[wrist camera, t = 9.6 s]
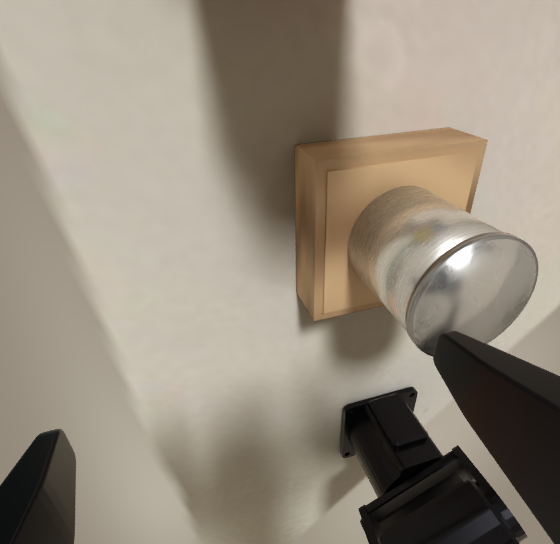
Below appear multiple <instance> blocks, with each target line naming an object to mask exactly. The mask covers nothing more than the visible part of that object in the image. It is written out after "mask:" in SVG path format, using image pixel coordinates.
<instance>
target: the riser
mask: <svg viewBox="0 0 560 544" xmlns="http://www.w3.org/2000/svg"><path fill="white" fill-rule="evenodd" d="M487 141H488V140H486V139H483V138H480V137H477V136H474V135H471V134H468V133H465V132H461V131H458V130H455V129H452V128H449V127H448V128H440V129H431V130H422V131H413V132H404V133H395V134H387V135H378V136H369V137H360V138H351V139H342V140H334V141H325V142H316V143H307V144H298V145H295V208H296V287H297V294H298V295H299V297H300V299H301V300H302V302H303V304H304V305H305V307H306V309H307V310H308V312H309V314H310V315H311V317H312V319H313V320H314V321H317V320H321V319H326V318H330V317H335V316H339V315H344V314H348V313H353V312H357V311H362V310H366V309H371V308H375V307H380V306H384V305H383V303H382V302H381V301H380V300H379V299H378V298H377V297H376V295H375V294H374V293H373V292H372V291H371V290H370V289H369V288H368V286H367V285H366V284H365V283H364V282H363V281H362V280H361V278H360V277H359V276H358V275H357V274H356V273H355V271H354V270H353V269H352V267H351V265H350V262H349V259H348V253H347V246H348V239H349V235H350V232H351V230H352V227H353V225H354V223H355V221H356V219H357V218H358V216H359V215H360V213H361V212H362V211H363V210H364V209H365V207H366V206H368V205H369V204H370V203H371V202H372V201H373V200H374V199H376V198H377V197H378V196H380V195H381V194H383V193H385V192H387V191H389V190H391V189H394V188H397V187H402V186H418V187H422V188H425V189H427V190H429V191H431V192H433V193H434V194H436V195H438V196H440V197H441V198H443V199H445V200H447V201H448V202H450V203H452V204H454V205H456V206H457V207H459V208H461V209H463V210H464V211H466V212H468V213H470V212H471V208H472V204H473V199H474V195H475V191H476V187H477V183H478V178H479V174H480V170H481V166H482V162H483V157H484V153H485V149H486V145H487Z"/></svg>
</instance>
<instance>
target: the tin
mask: <svg viewBox="0 0 560 544" xmlns="http://www.w3.org/2000/svg"><path fill="white" fill-rule="evenodd" d="M347 253H348V259H349V262H350V265H351V267H352V269H353V270H354V271H355V273H356V274H357V275H358V276H359V277H360V278H361V280H362V281H363V282H364V283H365V284H366V285H367V286H368V288H369V289H370V290H371V291H372V292H373V293H374V294H375V295H376V297H377V298H378V299H379V300H380V301H381V302H382V303H383V305H384V306H385V307H386V308H387V309H388V310H389V311H390V313H391V314H392V315H393V316H394V317H395V318H396V319H397V320H398V322H399V323H400V324H401V325H402V326H403V327H404V328H405V330H406V331H407V333H408V335H409V337H410V338H411V340H412V341H413V342H414V343H415V345H416V346H417V347H418V348H419V349H420V350H421V351H422V352H424V353H426V354H428V355H430V356H434V351H435V347H436V342H437V338H438V336H439V335H440V334H441V333H444V332H448V331H452V330H455V331H458V332H460V333H463V334H465V335H467V336H469V337H472V338H474V339H476V340H479V341H481V342H483V343H485V344H487V343H489V342H490V341H492V340H493V339H494V338H496V337H497V336H498V335H500V334H501V333H502V332H503V331H504V330H505V329H506V328H508V327H509V326H510V325H511V324H512V322H513V321H514V320H515V319H516V318H517V317H518V315H519V314H520V313H521V312H522V310H523V309H524V307H525V306H526V304H527V302H528V301H529V299H530V297H531V295H532V293H533V290H534V288H535V284H536V281H537V276H538V260H537V257H536V254H535V252H534V250H533V249H532V248H531V246H530V245H529V244H527V243H526V242H525V241H523V240H521V239H519V238H518V237H516V236H514V235H511V234H509V233H504V232H501V231H500V230H498V229H496V228H494V227H493V226H491V225H489V224H487V223H486V222H484V221H482V220H480V219H478V218H477V217H475V216H473V215H471V214H470V213H468V212H466V211H464V210H463V209H461V208H459V207H457V206H456V205H454V204H452V203H450V202H448V201H447V200H445V199H443V198H441V197H440V196H438V195H436V194H434V193H433V192H431V191H429V190H427V189H425V188H422V187H418V186H402V187H397V188H394V189H391V190H389V191H387V192H385V193H383V194H381V195H380V196H378V197H377V198H376V199H374V200H373V201H372V202H371V203H370V204H369V205H368V206H366V207H365V209H364V210H363V211H362V212H361V213H360V215H359V216H358V218H357V219H356V221H355V223H354V225H353V227H352V230H351V232H350V235H349V239H348V246H347Z"/></svg>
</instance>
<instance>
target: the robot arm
mask: <svg viewBox="0 0 560 544" xmlns="http://www.w3.org/2000/svg"><path fill="white" fill-rule="evenodd" d="M433 360H434V364H435V366H436V368H437V370H438V371H439V373H440V375H441V377H442V378H443V380H444V382H445V384H446V385H447V387H448V389H449V391H450V392H451V394H452V396H453V398H454V399H455V401H456V403H457V405H458V406H459V408H460V410H461V411H462V413H463V415H464V416H465V418H466V419H467V421H468V422H469V424H470V425H471V427H472V428H473V430H474V431H475V432H476V434H477V435H478V437H479V438H480V439H481V441H482V442H483V443H484V445H485V447H486V448H487V449H488V451H489V452H490V454H491V455H492V456H493V458H494V459H495V461H496V462H497V464H498V465H499V466H500V468H501V469H502V470H503V472H504V473H505V475H506V476H507V478H508V479H509V480H510V482H511V483H512V485H513V486H514V487H515V489H516V490H517V492H518V493H519V494H520V496H521V497H522V499H523V500H524V502H525V503H526V504H527V506H528V507H529V509H530V510H531V512H532V513H533V514H534V516H535V517H536V519H537V520H538V521H539V523H540V524H541V526H542V527H543V528H544V530H545V531H546V533H547V534H548V536H549V537H550V538H551V540H552V541H553V543H554V544H560V376H558V375H556V374H554V373H551V372H549V371H547V370H544V369H542V368H540V367H538V366H535V365H533V364H531V363H529V362H526V361H524V360H522V359H519V358H517V357H515V356H513V355H510V354H508V353H506V352H504V351H501V350H499V349H497V348H494V347H492V346H490V345H488V344H485V343H483V342H481V341H479V340H476V339H474V338H472V337H469V336H467V335H465V334H463V333H460V332H458V331H455V330H452V331H448V332H444V333H441V334H440V335H439V336H438V338H437V342H436V347H435V351H434V356H433ZM416 398H417V391H416V390H415V388H414V387H409V388H406V389H402V390H399V391H395V392H391V393H388V394H384V395H381V396H377V397H373V398H370V399H366V400H363V401H359V402H356V403H352V404H349V405H347V406H345V408H344V409H343V420H342V433H341V446H340V453H341V455H342V457H343V458H347V457H351V456H354V455H357V457H358V459H359V461H360V463H361V465H362V467H363V469H364V471H365V473H366V475H367V477H368V479H369V481H370V483H371V485H372V487H373V489H374V491H375V493H376V494H377V497H378V498H377V499H376V500H374V501H372V502H371V503H369V504H368V505H363V506H362V507H360V508H359V512H360V515H361V518H362V519H361V521H360V522H361V525H362V527H363V529H364V531H365V534H366V537H367V539H368V542H369V544H519V542H521V541H523V540H524V539H526V538H527V535H526V534H525V532H524V530H523V529H522V527H521V526H520V524H519V523H518V522H517V520H516V519H515V517H514V516H513V514H512V513H511V512H510V510H509V509H508V508H507V506H506V505H505V504H504V503H503V501H502V500H501V498H500V497H499V496H498V495H497V493H496V492H495V491H494V489H493V488H492V487H491V486H490V484H489V483H488V482H487V481H486V479H485V478H484V477H483V476H482V474H481V473H480V472H479V471H478V470H477V468H476V467H475V466H474V465H473V463H472V462H471V461H470V460H469V458H468V457H467V456H466V455H465V453H464V452H463V451H462V450H461V449H460V447H459V446H458V445H457V446H456V447H454V448H453V449H452V451H451V452H449V453H447V454H446V455H444V456H443V455H442V454H441V453H440V451H439V450H438V448H437V447H436V445H435V444H434V443H433V441H432V440H431V438H430V437H429V436H428V433H427V432H426V430H425V429H424V427H423V426H422V424H421V423H420V422H419V420H418V419H417V417H416V416H415V415H414V413H413V411H414V407H415V402H416ZM75 483H76V458H75V453H74V451H73V449H72V447H71V445H70V443H69V441H68V439H67V437H66V435H65V433H64V431H63V430H62V429H55V430H51V431H47V432H43V433H41V434H39V435H38V436H37V437H36V438H35V440H34V441H33V442H32V444H31V445H30V446H29V448H28V449H27V450H26V452H25V453H24V454H23V456H22V457H21V459H20V460H19V461H18V462H17V464H16V465H15V466H14V468H13V469H12V470H11V472H10V473H9V474H8V476H7V477H6V479H5V480H4V481H3V483H2V484H1V485H0V544H74V536H75V489H76V484H75Z"/></svg>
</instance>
